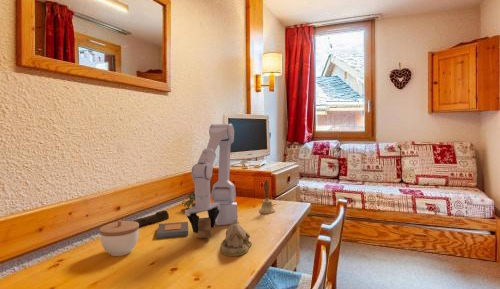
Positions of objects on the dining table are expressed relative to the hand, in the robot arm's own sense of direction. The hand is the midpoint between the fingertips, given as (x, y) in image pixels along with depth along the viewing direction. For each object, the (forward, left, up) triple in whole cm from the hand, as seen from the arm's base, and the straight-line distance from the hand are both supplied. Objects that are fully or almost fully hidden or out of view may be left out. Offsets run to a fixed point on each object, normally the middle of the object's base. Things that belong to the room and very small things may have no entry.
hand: (203, 230), depth 116 cm
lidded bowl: (+29, +5, -4) cm, 30 cm away
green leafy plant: (+2, -44, -4) cm, 44 cm away
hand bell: (-33, -30, -4) cm, 45 cm away
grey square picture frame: (+12, -11, -3) cm, 17 cm away
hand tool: (+23, -26, -4) cm, 35 cm away
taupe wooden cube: (0, 0, -2) cm, 2 cm away
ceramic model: (-11, +12, -4) cm, 16 cm away
